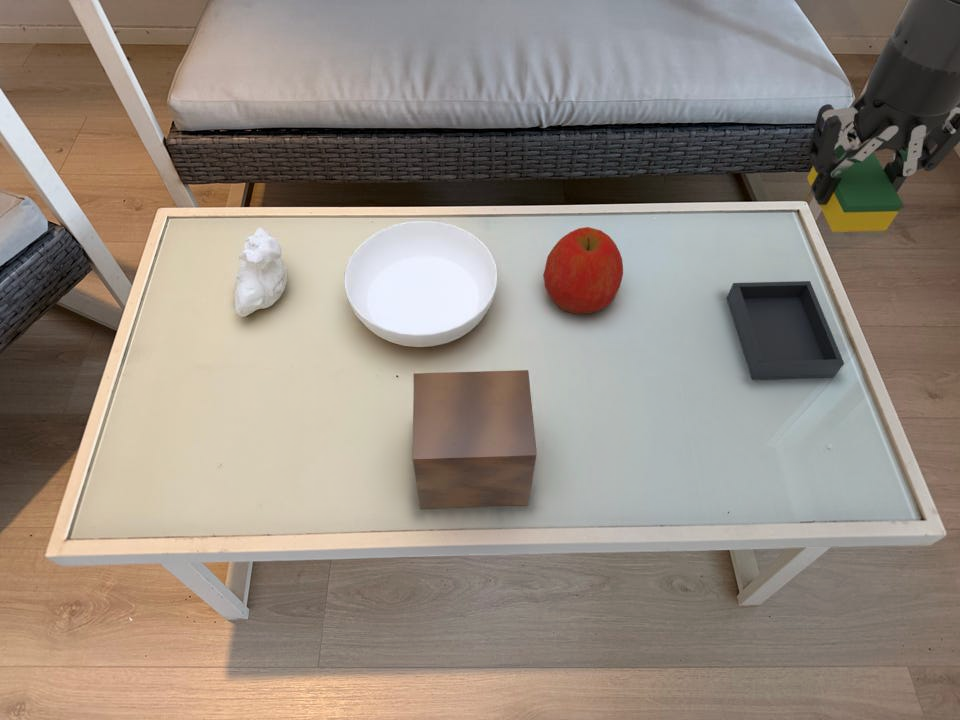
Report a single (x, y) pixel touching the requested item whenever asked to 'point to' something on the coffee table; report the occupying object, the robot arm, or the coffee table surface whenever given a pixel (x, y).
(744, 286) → the tray
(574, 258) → the apple
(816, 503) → the coffee table surface
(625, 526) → the coffee table surface
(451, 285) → the bowl
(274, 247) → the bust
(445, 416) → the wooden block
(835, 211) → the sponge
